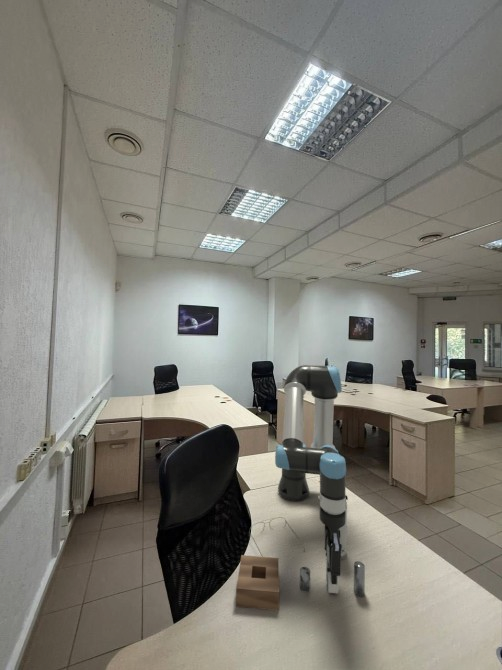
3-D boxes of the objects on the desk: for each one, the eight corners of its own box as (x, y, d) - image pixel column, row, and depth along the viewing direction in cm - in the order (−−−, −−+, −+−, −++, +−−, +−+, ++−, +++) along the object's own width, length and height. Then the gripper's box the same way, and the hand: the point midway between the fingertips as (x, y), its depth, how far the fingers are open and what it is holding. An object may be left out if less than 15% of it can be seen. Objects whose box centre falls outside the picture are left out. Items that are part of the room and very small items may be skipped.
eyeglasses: (284, 526, 111) (284, 514, 111) (305, 553, 97) (305, 539, 98) (247, 537, 105) (247, 524, 105) (264, 567, 91) (264, 552, 91)
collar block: (241, 570, 89) (241, 555, 89) (278, 573, 88) (278, 558, 88) (236, 606, 77) (236, 588, 77) (278, 610, 76) (279, 592, 76)
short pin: (299, 582, 85) (299, 566, 85) (309, 583, 85) (309, 567, 85) (300, 591, 82) (300, 574, 82) (310, 592, 82) (310, 575, 82)
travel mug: (348, 561, 94) (349, 502, 94) (328, 557, 95) (329, 499, 95) (346, 547, 100) (346, 492, 100) (327, 544, 101) (327, 489, 101)
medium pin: (352, 587, 84) (352, 560, 84) (362, 588, 84) (362, 561, 84) (355, 596, 81) (355, 568, 81) (366, 597, 81) (366, 569, 81)
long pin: (325, 584, 84) (326, 542, 85) (335, 585, 84) (336, 542, 84) (327, 593, 82) (328, 549, 82) (338, 594, 81) (338, 550, 81)
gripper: (315, 492, 92) (315, 563, 91) (324, 524, 76) (323, 611, 75) (339, 493, 91) (338, 565, 91) (352, 526, 75) (352, 613, 75)
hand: (331, 586), depth 83 cm, fingers closed on long pin, 3 cm apart
